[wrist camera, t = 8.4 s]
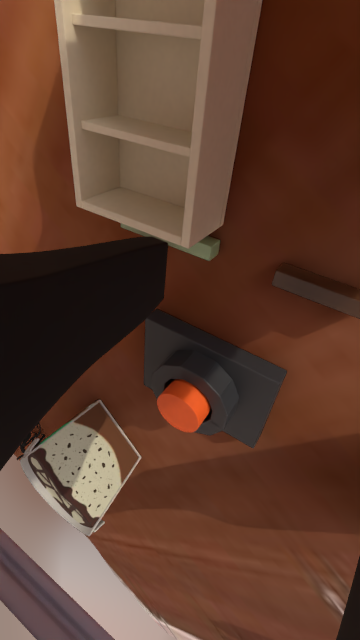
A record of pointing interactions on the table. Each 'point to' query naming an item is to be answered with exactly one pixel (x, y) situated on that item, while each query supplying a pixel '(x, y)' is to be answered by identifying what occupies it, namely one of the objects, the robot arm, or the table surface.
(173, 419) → the desk button
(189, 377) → the button block
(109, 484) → the food container
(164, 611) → the table surface
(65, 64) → the compartment tray
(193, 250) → the guide rails
